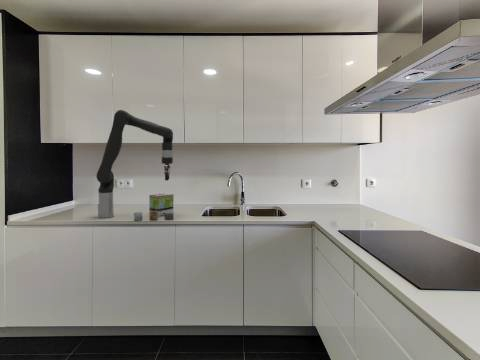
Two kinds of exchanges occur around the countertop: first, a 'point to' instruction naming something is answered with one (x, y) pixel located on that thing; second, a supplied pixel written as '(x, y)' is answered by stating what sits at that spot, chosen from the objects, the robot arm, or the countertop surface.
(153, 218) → the walnut block
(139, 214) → the grey egg shape
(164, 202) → the tea box
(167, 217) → the charcoal block
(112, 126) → the robot arm
